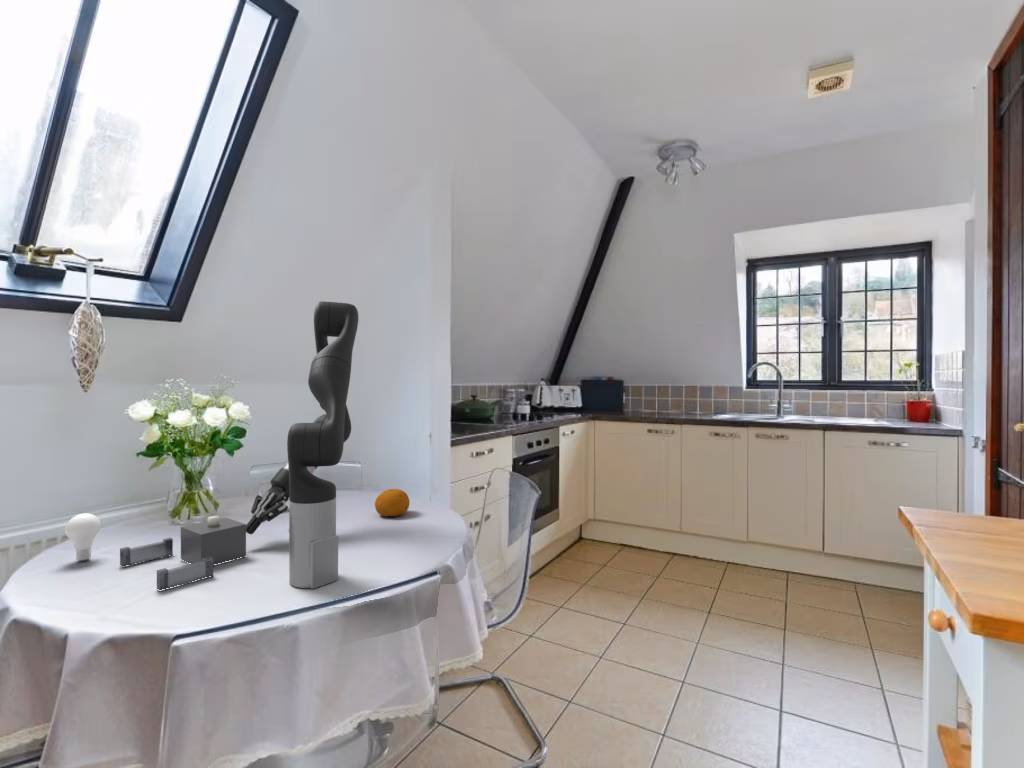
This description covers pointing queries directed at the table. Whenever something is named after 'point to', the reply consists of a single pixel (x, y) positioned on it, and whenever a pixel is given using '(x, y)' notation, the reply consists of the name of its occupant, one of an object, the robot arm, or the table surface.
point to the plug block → (213, 540)
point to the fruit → (392, 502)
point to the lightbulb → (83, 533)
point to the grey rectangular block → (264, 487)
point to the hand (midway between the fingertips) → (247, 532)
